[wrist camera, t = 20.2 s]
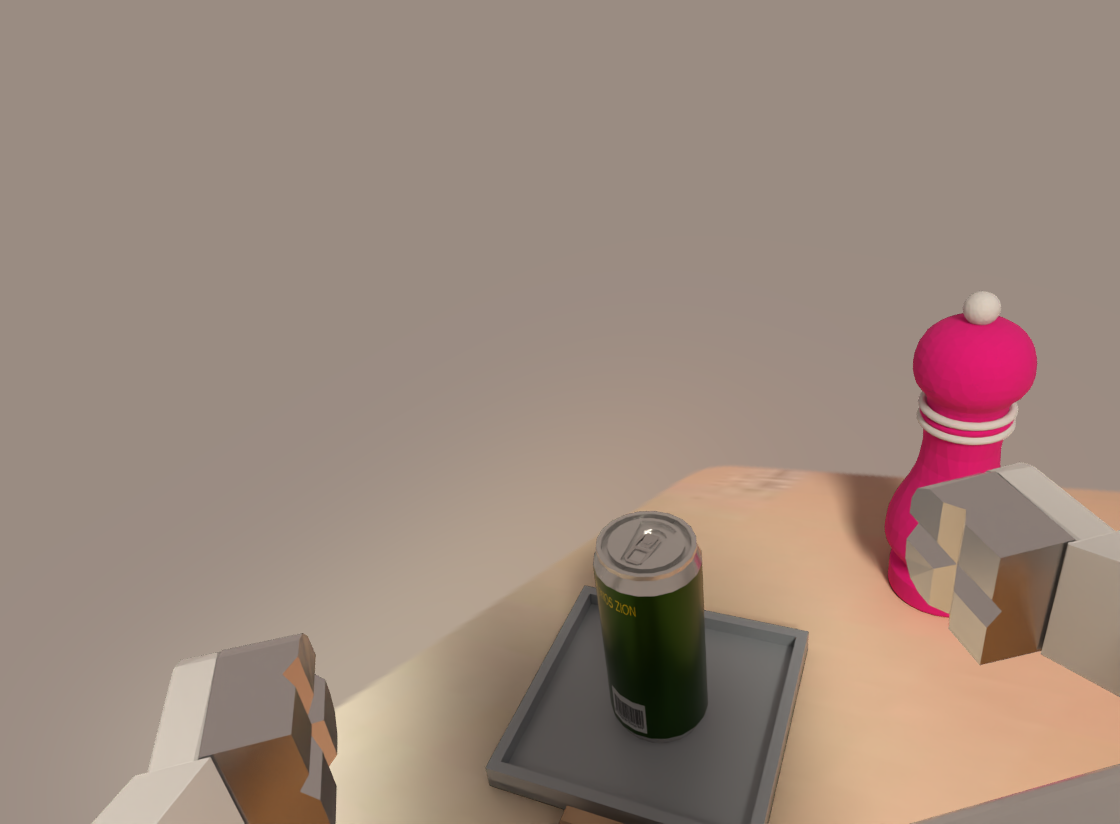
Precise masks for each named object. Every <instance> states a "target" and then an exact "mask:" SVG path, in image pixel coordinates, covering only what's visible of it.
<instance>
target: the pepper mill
mask: <svg viewBox="0 0 1120 824" xmlns="http://www.w3.org/2000/svg"><path fill="white" fill-rule="evenodd" d="M1000 311H1001V304H1000V301H999V299H998V298H997V297H996V296H995V295H994V294H992V293H990V292H985V291H980V292H976V293H974V294H972V295H970V296H969V297H968V298H967V299H966V301H965V302H964V306H963V313H962V314H957V315H953V316H950V317H947V318H945V319H943V320H941V321H939V322H937V323H936V324H934V325H933V326H932V327H930V328H929V329H928V330H927V331H926V333H925V334H924V335H923V337H922V338H921V339H920V341H919V343H918V345H917V348H916V350H915V354H914V359H913V372H914V376H915V380H916V383H917V384H918V386H919V387H920V388H921V390H922V393H921V394H920V396H919V399H918V403H919V408H918V411H917V420H918V422H919V423H920V425H921V426H922V428H923V441H922V445H921V449H920V453H919V456H918V459H917V461H916V463H915V465H914V467H913V468H912V470H911V471H910V473H909V474H908V475H907V477H906V478H905V479H904V481H903V482H902V483H901V484H900V486H899V487H898V488H897V490H896V491H895V493H894V495H893V497H892V499H891V501H890V503H889V506H888V510H887V515H886V520H885V534H886V538H887V540H888V543H889V545H890V546H891V548H892V549H891V552H890V558H889V568H888V579H889V583H890V585H891V587H892V589H893V590H894V592H895V593H896V594H897V595H898V596H899V597H900V598H901V599H902V600H903V601H905V602H906V603H907V604H909V605H911V606H913V607H914V608H916V609H918V610H920V611H922V612H926V613H929V614H932V615H936V616H943V617H949V614H948V613H946V612H944V611H941V610H939V609H937V608H934V607H932V606H930V605H928V603H927V602H926V601H925V600H924V599H923V597H922V596H921V595H920V594H919V592H918V591H917V589H916V587H915V585H914V583H913V582H912V580H911V578H910V574H909V570H908V567H907V563H906V559H905V556H906V541H907V538H908V536H909V535H910V534H911V532H912V531H913V530H914V528H915V527H916V526H917V525H918V522H917V520H916V519H915V518H914V517H913V516H912V515H911V514H910V507H911V500H912V496H913V495H914V493H915V491H916V490H917V488H921V487H925V486H929V485H933V484H937V483H941V482H945V481H949V480H953V479H957V478H962V477H966V476H970V475H974V474H978V473H984V472H986V471H988V470H992V469H996V468H1000V457H1001V446H1002V442H1003V439H1005V438H1007V437H1008V436H1009V435H1010V434H1011V433H1012V432H1013V430H1014V428H1015V417H1016V416H1017V413H1018V406H1017V403H1016V401H1018V400H1019V399H1021V398H1022V397H1023V396H1024V395H1025V394H1026V393H1027V392H1028V391H1029V390H1030V388H1031V386H1032V384H1033V382H1034V379H1035V376H1036V369H1037V357H1036V351H1035V347H1034V345H1033V343H1032V340H1031V339H1030V337H1029V336H1028V334H1027V333H1026V332H1025V331H1024V330H1023V329H1022V328H1021V327H1020V326H1018V325H1017V324H1015V323H1013V322H1011V321H1009V320H1007V319H1005V318H1003V317H1000V316H999V314H1000Z"/></svg>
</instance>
